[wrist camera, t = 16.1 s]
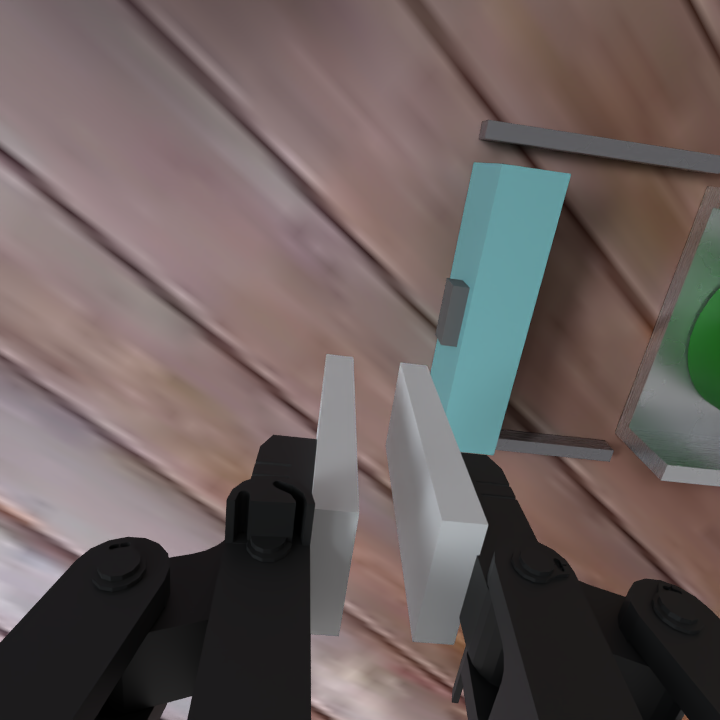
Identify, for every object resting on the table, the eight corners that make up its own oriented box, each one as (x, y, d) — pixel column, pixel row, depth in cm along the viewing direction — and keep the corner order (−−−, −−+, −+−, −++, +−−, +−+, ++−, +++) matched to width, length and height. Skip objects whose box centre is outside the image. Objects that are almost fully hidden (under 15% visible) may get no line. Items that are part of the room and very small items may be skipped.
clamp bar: (458, 160, 25) (483, 161, 21) (530, 170, 26) (571, 173, 21) (411, 403, 31) (422, 447, 26) (471, 410, 31) (493, 455, 26)
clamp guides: (482, 121, 25) (488, 119, 24) (709, 156, 26) (725, 156, 25) (418, 431, 31) (421, 442, 30) (600, 451, 32) (609, 461, 31)
